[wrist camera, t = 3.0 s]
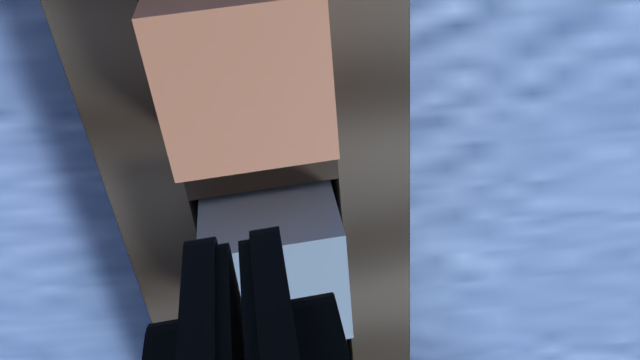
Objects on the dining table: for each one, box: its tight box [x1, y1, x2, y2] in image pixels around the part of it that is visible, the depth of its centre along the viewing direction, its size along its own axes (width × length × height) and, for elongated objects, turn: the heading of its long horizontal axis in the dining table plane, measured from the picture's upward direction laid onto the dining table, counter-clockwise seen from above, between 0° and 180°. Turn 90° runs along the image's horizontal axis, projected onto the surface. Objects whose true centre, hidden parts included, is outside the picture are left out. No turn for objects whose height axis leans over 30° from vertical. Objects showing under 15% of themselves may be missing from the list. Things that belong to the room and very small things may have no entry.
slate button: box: [196, 180, 354, 339], centre depth 23 cm, size 5×5×4 cm
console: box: [40, 0, 410, 360], centre depth 25 cm, size 27×11×3 cm, turn 5°
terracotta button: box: [132, 0, 340, 183], centre depth 18 cm, size 5×5×4 cm
